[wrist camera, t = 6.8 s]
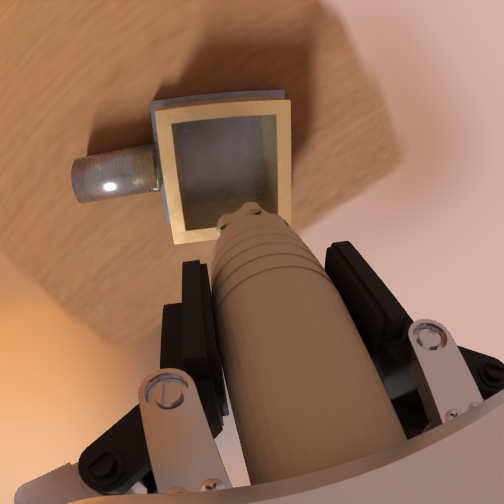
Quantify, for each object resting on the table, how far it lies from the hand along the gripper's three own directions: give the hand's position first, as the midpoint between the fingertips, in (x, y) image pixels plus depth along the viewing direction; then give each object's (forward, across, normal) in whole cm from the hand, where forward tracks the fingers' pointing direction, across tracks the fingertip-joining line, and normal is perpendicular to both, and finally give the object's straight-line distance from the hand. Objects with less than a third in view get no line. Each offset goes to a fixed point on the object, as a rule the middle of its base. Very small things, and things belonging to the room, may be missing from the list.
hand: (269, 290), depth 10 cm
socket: (+19, +3, 0) cm, 20 cm away
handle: (+4, 0, 0) cm, 4 cm away
